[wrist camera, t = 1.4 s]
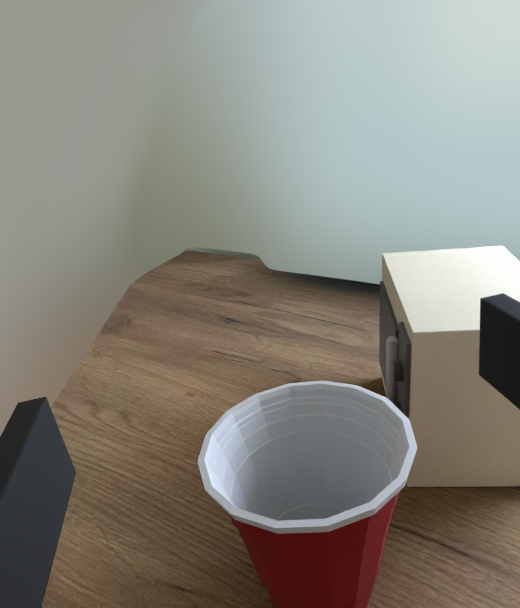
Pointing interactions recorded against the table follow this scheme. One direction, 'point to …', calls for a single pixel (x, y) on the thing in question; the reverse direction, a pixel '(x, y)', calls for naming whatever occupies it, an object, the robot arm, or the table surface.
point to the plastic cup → (311, 487)
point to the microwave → (448, 364)
